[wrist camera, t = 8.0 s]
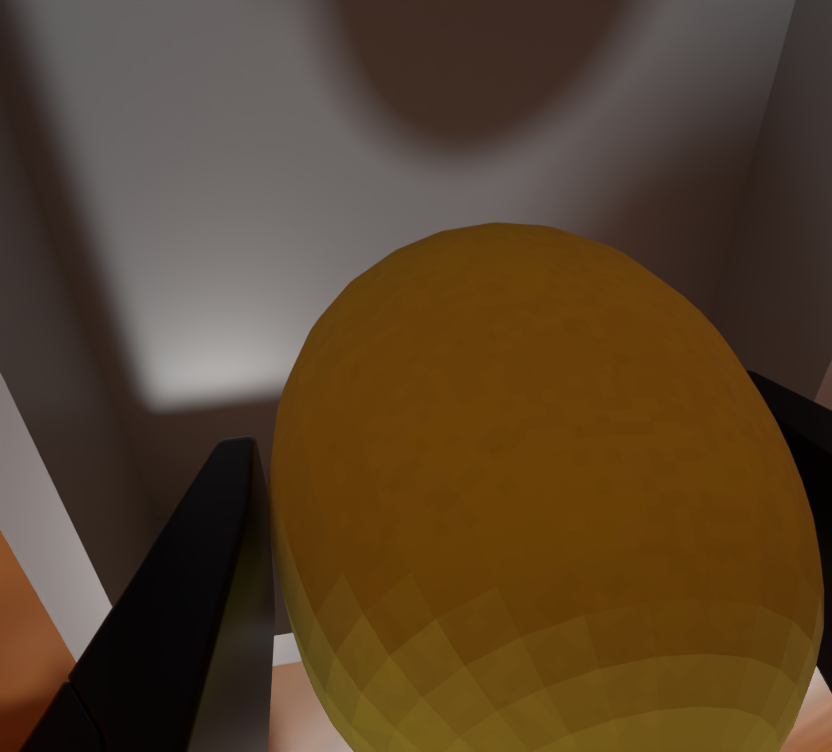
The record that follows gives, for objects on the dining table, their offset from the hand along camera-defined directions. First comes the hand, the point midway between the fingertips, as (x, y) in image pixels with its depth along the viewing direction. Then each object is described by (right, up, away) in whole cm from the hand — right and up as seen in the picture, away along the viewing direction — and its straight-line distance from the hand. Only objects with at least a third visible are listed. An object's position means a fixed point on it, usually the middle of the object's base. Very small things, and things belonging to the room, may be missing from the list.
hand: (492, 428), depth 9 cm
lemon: (0, +2, +2) cm, 3 cm away
